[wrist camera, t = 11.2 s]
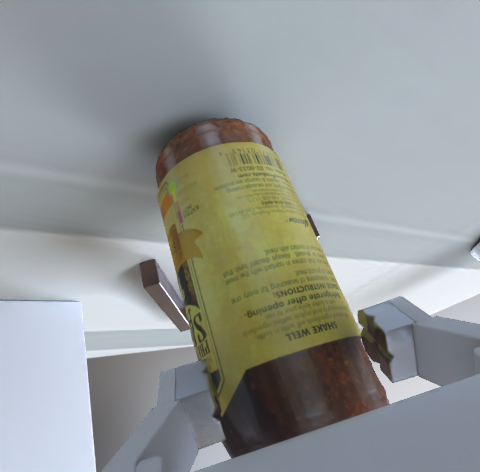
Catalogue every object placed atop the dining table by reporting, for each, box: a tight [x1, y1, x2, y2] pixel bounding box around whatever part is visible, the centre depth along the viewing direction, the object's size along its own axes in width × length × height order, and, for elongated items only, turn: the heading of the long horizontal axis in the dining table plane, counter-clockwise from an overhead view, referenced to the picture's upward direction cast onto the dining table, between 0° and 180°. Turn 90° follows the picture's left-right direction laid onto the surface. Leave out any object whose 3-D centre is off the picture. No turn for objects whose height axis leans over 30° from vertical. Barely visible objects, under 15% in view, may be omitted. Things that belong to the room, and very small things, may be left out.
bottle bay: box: [140, 214, 320, 332], centre depth 32 cm, size 13×13×2 cm
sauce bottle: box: [156, 118, 390, 458], centre depth 14 cm, size 7×6×20 cm
